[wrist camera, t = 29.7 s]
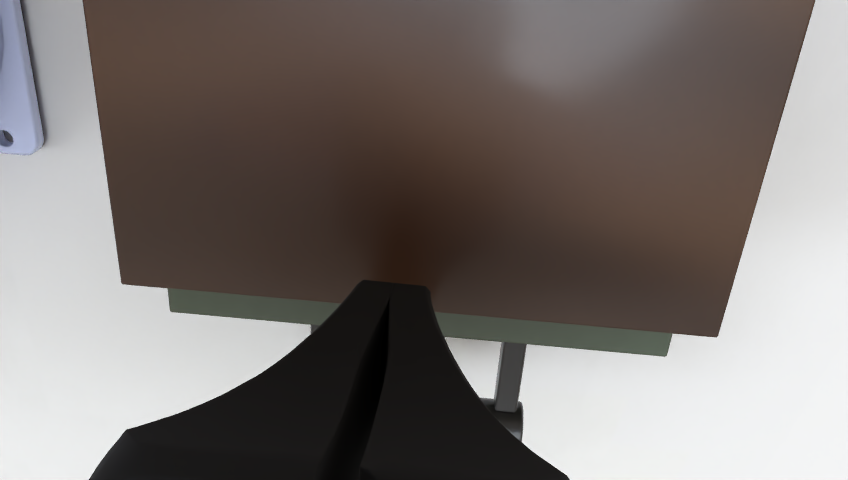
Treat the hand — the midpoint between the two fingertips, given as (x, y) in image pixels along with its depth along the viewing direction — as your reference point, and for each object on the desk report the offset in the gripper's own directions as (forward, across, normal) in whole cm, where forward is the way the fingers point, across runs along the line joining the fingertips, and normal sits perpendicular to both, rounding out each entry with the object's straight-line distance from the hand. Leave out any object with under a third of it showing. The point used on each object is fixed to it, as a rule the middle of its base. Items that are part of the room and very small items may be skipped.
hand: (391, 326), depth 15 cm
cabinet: (+9, 0, -6) cm, 11 cm away
